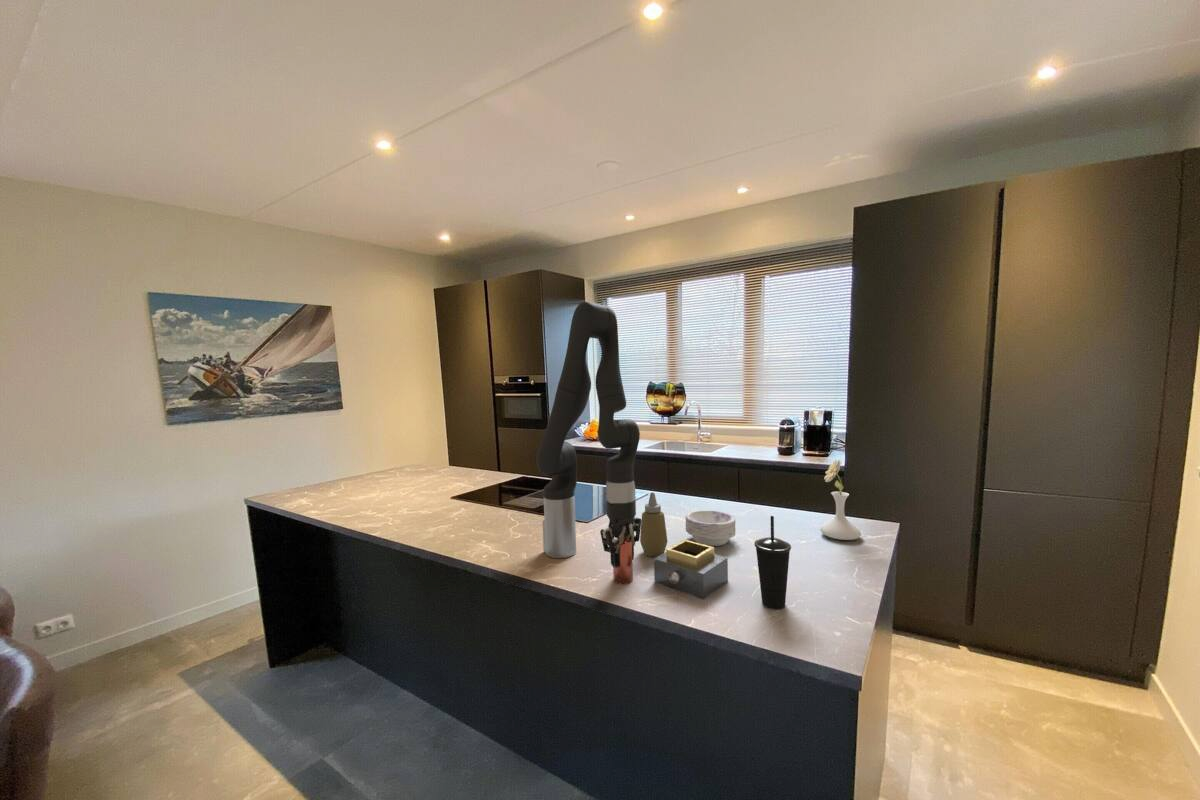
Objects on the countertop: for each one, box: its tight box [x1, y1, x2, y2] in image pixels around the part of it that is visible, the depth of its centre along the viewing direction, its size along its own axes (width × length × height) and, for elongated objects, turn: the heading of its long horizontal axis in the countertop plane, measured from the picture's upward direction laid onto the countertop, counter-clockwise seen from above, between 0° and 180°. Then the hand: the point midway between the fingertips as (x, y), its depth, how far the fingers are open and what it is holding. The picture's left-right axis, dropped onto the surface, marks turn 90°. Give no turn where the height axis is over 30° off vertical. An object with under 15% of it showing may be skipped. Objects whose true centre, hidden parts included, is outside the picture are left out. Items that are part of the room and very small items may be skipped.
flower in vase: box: [819, 459, 862, 541], centre depth 138 cm, size 13×11×25 cm
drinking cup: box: [753, 515, 792, 610], centre depth 99 cm, size 8×8×20 cm
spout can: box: [612, 537, 634, 585], centre depth 114 cm, size 5×5×13 cm
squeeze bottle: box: [639, 492, 668, 557], centre depth 130 cm, size 8×8×18 cm
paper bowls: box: [685, 509, 736, 547], centre depth 139 cm, size 15×15×8 cm
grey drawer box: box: [653, 539, 729, 600], centre depth 111 cm, size 14×14×8 cm
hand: (622, 562), depth 114 cm, fingers closed on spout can, 5 cm apart
